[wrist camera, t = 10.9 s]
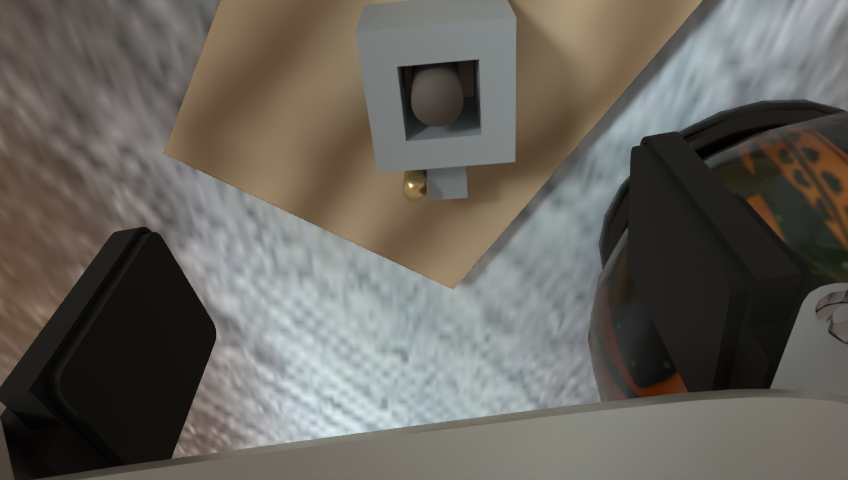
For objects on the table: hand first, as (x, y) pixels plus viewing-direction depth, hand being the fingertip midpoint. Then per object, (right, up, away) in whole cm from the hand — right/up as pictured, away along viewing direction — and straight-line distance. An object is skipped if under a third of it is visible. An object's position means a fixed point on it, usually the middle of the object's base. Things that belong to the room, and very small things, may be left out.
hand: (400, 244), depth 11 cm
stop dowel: (0, +5, +19) cm, 20 cm away
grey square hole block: (+1, +7, +17) cm, 19 cm away
